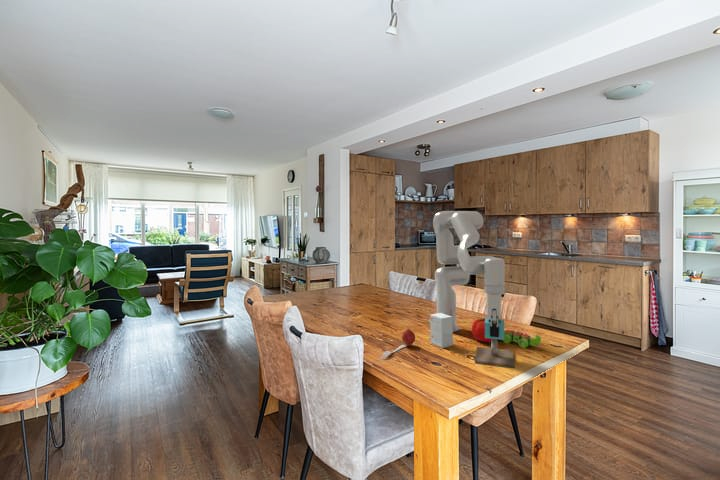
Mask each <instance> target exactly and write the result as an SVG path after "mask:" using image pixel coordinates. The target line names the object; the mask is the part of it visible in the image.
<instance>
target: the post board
mask: <svg viewBox="0 0 720 480" xmlns="http://www.w3.org/2000/svg"><path fill="white" fill-rule="evenodd" d="M498 340H499V339H496V340H495V339H492V340H491V342H490V347H483V346H476V349H475V357H474V363H475V364H479V365H488V366H494V367H495V366H497V367H503V368H513V369H515V367H516V366H515V358H514V350H511V349H501V348H499V347H498V346H499V343H498Z"/></svg>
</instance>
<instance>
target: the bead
mask: <svg viewBox="0 0 720 480" xmlns="http://www.w3.org/2000/svg"><path fill="white" fill-rule="evenodd" d="M484 319H485V338H490V339H496V340H502V341H503V340H504V330H505V320H504V319H501V318H500V319H499V320H498V327H499V337H491V336H490V326H491V318H489V319H487V317H485V318H484ZM492 321H493V320H492Z"/></svg>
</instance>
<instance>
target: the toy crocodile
mask: <svg viewBox="0 0 720 480" xmlns="http://www.w3.org/2000/svg"><path fill="white" fill-rule="evenodd" d="M535 336H536V337H533V336H531V335H530V334H528V333H523V332H522V331H521V332H520V331H515V330H512V329H511V330H510V329H504V340H502V342H503V343H504V344H510V343H511V342H515V343H517V344H518V346H519V347H520V348H522V349H525V348H527V347H528V346H533V347H534V346H538V345H540V343H541V341H542V337H541V335H540V334H539V333H536V334H535Z"/></svg>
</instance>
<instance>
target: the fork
mask: <svg viewBox="0 0 720 480" xmlns="http://www.w3.org/2000/svg"><path fill="white" fill-rule="evenodd" d="M406 347H407V345H406V344H401V345H399V346H398V347H397V348H396V349H394V350H392V351H387V350H386V351H384V352H383V354H382V355H381V357H380V359H381V360H382V361H385V360H386V359H387V358H388V356H389V355H390V354H394V353H396V352H397V351H399V350H401V349H403V348H406Z"/></svg>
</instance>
